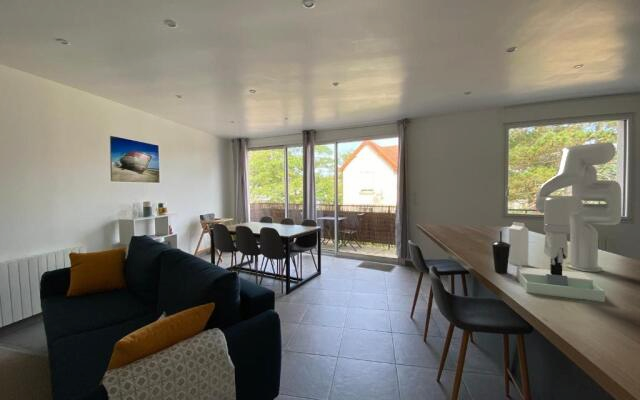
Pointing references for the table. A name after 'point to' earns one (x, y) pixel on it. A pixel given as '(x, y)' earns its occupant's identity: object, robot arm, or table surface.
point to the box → (563, 289)
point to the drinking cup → (501, 255)
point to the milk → (518, 244)
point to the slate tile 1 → (556, 280)
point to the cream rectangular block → (542, 272)
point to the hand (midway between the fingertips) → (556, 274)
